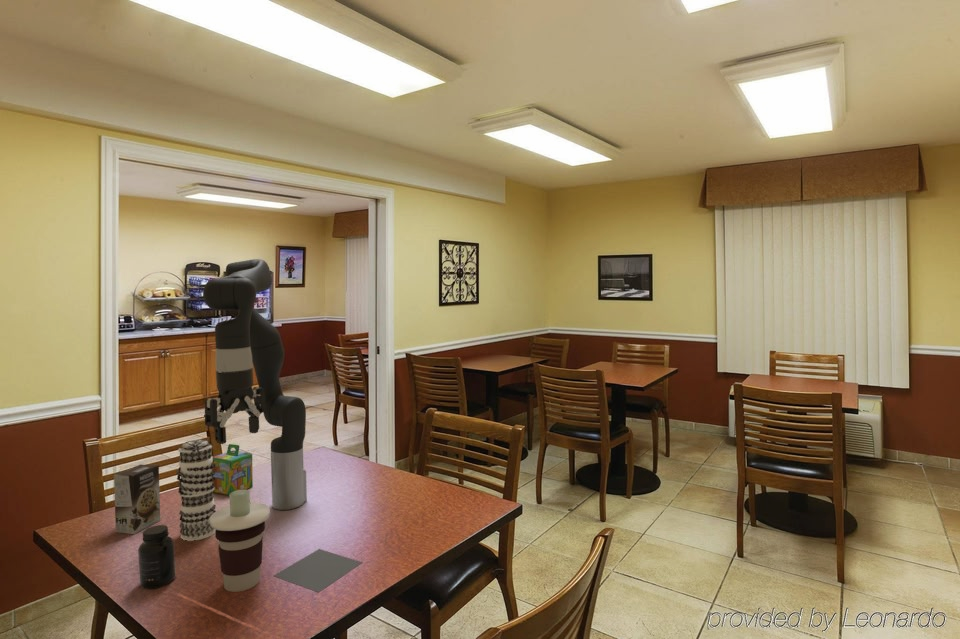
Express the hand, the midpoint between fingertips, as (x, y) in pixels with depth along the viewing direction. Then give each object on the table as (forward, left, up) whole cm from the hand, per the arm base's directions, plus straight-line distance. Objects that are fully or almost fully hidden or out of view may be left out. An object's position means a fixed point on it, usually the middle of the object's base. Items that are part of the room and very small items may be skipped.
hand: (238, 437), depth 119 cm
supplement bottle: (+11, -14, -32) cm, 37 cm away
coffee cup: (+3, +4, -32) cm, 32 cm away
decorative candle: (-8, -28, -32) cm, 43 cm away
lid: (+3, +4, -17) cm, 17 cm away
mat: (-9, +15, -32) cm, 36 cm away
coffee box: (-3, -47, -32) cm, 57 cm away
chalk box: (-33, -48, -32) cm, 66 cm away
